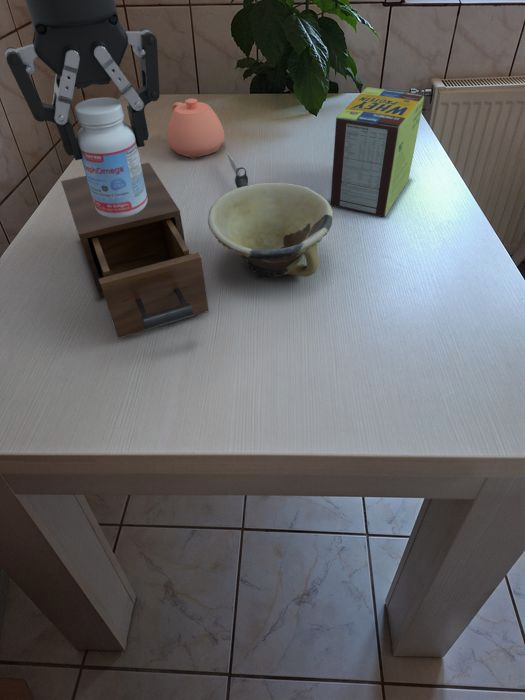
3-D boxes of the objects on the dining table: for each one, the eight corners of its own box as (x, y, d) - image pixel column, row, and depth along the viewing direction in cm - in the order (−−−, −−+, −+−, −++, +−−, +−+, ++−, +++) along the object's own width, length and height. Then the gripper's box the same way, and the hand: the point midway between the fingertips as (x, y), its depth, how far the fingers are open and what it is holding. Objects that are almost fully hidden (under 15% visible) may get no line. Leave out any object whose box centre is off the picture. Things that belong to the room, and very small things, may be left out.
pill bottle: (86, 217, 56) (54, 114, 48) (110, 191, 61) (84, 93, 53) (136, 222, 55) (111, 118, 47) (157, 196, 59) (137, 95, 51)
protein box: (409, 180, 95) (425, 93, 84) (384, 218, 86) (399, 126, 75) (357, 170, 99) (366, 85, 88) (328, 205, 89) (334, 116, 78)
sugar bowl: (189, 167, 102) (181, 115, 95) (154, 146, 110) (145, 97, 102) (236, 150, 107) (233, 100, 100) (200, 131, 115) (194, 83, 108)
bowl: (191, 264, 78) (182, 208, 71) (278, 222, 86) (277, 169, 79) (264, 319, 68) (261, 261, 61) (354, 267, 76) (360, 210, 69)
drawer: (222, 334, 65) (215, 280, 58) (127, 365, 61) (109, 310, 55) (176, 253, 78) (166, 201, 72) (96, 274, 75) (79, 221, 69)
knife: (221, 163, 101) (220, 139, 97) (233, 162, 101) (231, 138, 98) (246, 214, 89) (245, 189, 85) (258, 212, 89) (258, 187, 85)
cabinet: (190, 273, 76) (179, 210, 68) (100, 298, 72) (78, 234, 65) (160, 222, 87) (149, 162, 79) (81, 241, 83) (60, 180, 76)
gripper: (133, -61, 46) (164, 126, 58) (-35, -46, 42) (36, 151, 54) (154, -52, 41) (183, 150, 53) (-34, -34, 37) (43, 179, 49)
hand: (108, 150), depth 53 cm, fingers closed on pill bottle, 6 cm apart
